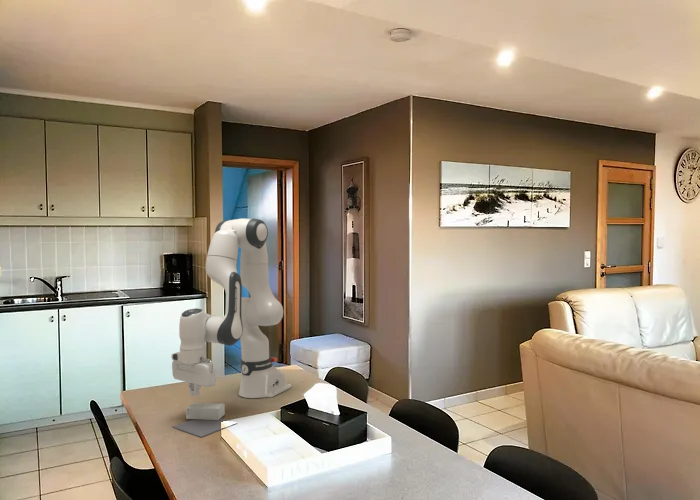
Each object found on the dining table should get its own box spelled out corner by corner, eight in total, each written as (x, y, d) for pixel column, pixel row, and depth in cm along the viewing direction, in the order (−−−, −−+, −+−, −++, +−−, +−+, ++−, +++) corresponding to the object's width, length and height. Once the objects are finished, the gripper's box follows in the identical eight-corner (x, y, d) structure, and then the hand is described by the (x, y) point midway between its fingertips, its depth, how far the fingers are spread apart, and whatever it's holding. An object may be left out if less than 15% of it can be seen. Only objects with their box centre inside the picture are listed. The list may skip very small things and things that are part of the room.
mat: (208, 414, 192) (208, 413, 192) (237, 423, 183) (237, 422, 183) (172, 427, 180) (172, 426, 180) (201, 437, 171) (201, 436, 171)
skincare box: (186, 419, 187) (218, 420, 185) (185, 407, 187) (217, 408, 185) (193, 413, 193) (225, 414, 191) (193, 402, 193) (224, 403, 191)
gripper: (219, 358, 182) (221, 397, 182) (183, 350, 194) (184, 388, 195) (204, 361, 177) (206, 402, 177) (168, 354, 189) (169, 392, 190)
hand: (194, 395), depth 186 cm, fingers closed
